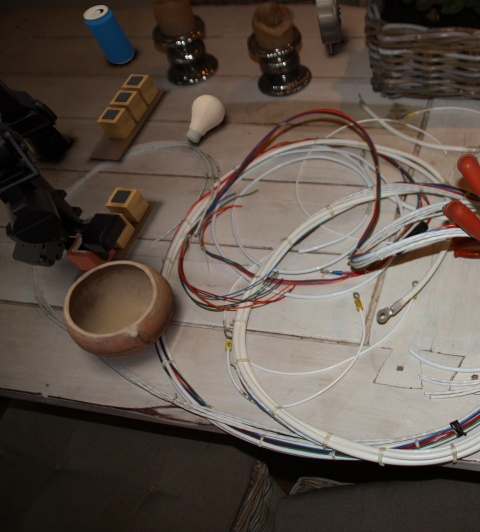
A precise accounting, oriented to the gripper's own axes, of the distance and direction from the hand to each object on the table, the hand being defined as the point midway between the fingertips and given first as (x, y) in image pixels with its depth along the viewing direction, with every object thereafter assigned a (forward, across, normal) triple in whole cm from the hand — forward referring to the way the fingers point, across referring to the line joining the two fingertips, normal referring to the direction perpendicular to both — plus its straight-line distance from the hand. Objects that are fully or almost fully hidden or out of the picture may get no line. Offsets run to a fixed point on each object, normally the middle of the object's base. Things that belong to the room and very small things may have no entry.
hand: (95, 257), depth 94 cm
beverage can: (+3, -28, +59) cm, 65 cm away
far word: (+3, -14, +36) cm, 39 cm away
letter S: (+1, 0, 0) cm, 1 cm away
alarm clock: (+3, +25, +67) cm, 72 cm away
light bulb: (+3, +5, +36) cm, 36 cm away
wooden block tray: (+3, 0, +6) cm, 7 cm away
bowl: (+3, +12, -10) cm, 16 cm away
